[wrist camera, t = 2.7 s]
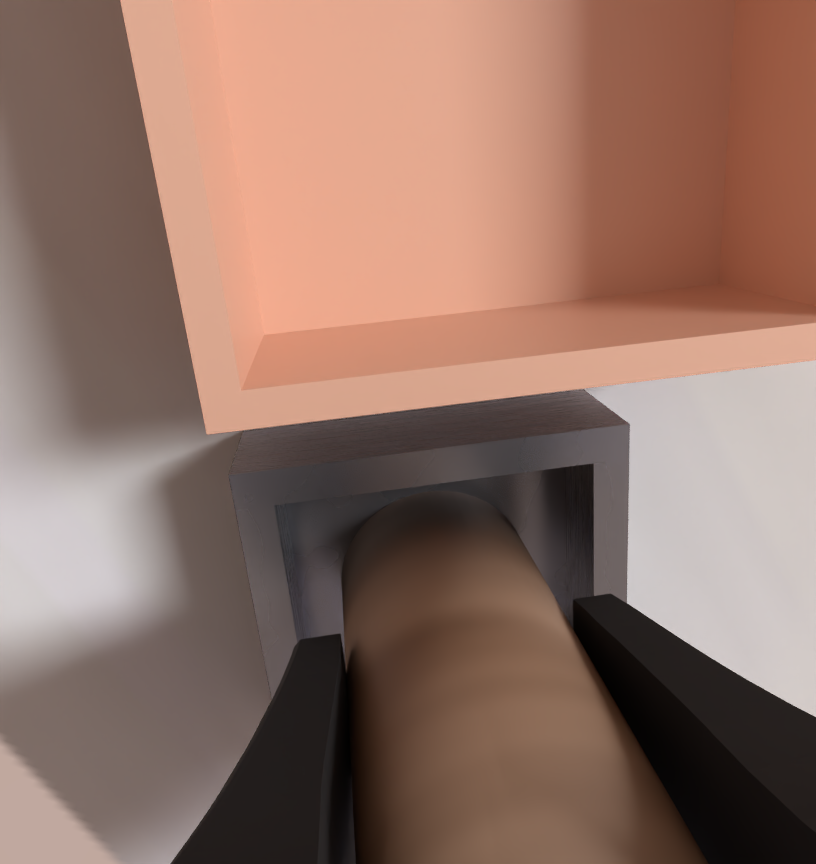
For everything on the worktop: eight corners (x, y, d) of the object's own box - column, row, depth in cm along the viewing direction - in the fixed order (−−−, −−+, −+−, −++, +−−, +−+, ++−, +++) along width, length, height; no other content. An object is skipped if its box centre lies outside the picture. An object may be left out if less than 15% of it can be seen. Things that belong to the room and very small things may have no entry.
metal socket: (585, 668, 15) (624, 738, 13) (293, 713, 15) (289, 794, 13) (583, 389, 13) (629, 423, 11) (243, 431, 13) (228, 474, 11)
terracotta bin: (728, 304, 13) (895, 350, 9) (242, 361, 12) (206, 434, 8) (768, -323, 10) (1038, -636, 6) (126, -298, 9) (-7, -634, 5)
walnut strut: (528, 641, 14) (762, 1145, 7) (352, 667, 14) (389, 1226, 6) (522, 479, 13) (799, 872, 5) (330, 504, 13) (342, 956, 5)
